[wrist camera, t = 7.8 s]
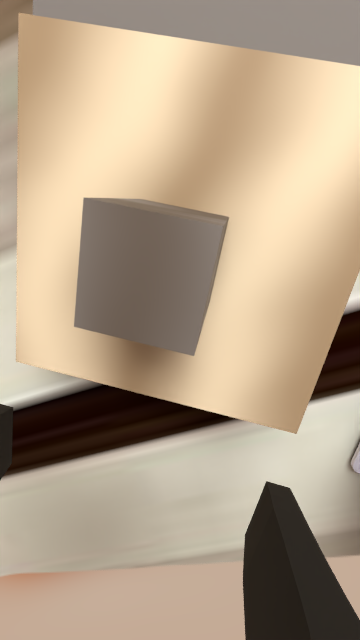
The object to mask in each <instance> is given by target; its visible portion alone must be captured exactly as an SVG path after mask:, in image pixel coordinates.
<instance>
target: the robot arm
mask: <svg viewBox="0 0 360 640" xmlns="http://www.w3.org/2000/svg"><path fill="white" fill-rule="evenodd" d="M12 430H13V407H9V406H6V405H2V404H0V480H1V478H2V477H3V475H4V474H5V472H6V471H7V469H8V468H9V466H10V465H11V463H12ZM351 466H352V468H353V470H354V471H355V472H357V473H359V474H360V443H359V445H358V447H357V450H356V452H355V454H354V456H353V458H352V460H351ZM243 593H244V614H245V634H246V640H360V620H359V618H358V616H357V615H356V613H355V612H354V609H353V608H352V606H351V604H350V602H349V601H348V599H347V597H346V595H345V594H344V592H343V590H342V588H341V586H340V585H339V583H338V581H337V579H336V577H335V575H334V573H333V572H332V570H331V568H330V566H329V565H328V562H327V561H326V559H325V557H324V555H323V553H322V551H321V549H320V547H319V545H318V543H317V541H316V539H315V537H314V535H313V533H312V531H311V530H310V528H309V526H308V524H307V521H306V519H305V517H304V515H303V513H302V511H301V509H300V507H299V505H298V503H297V501H296V499H295V497H294V495H293V493H292V491H291V490H290V488H288V487H284V486H281V485H277V484H274V483H271V482H267V481H266V484H265V486H264V489H263V491H262V494H261V496H260V499H259V501H258V504H257V506H256V509H255V511H254V514H253V516H252V519H251V521H250V524H249V526H248V529H247V532H246V534H245V547H244V568H243Z"/></svg>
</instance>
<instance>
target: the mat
mask: <svg viewBox="0 0 360 640" xmlns="http://www.w3.org/2000/svg"><path fill="white" fill-rule="evenodd" d="M33 15H36V16H42V17H48V18H55V19H61V20H68V21H74V22H80V23H87V24H93V25H100V26H106V27H112V28H119V29H125V30H132V31H138V32H144V33H151V34H157V35H164V36H170V37H176V38H183V39H189V40H196V41H202V42H208V43H215V44H221V45H228V46H234V47H240V48H247V49H253V50H260V51H266V52H272V53H279V54H285V55H292V56H298V57H304V58H311V59H317V60H324V61H330V62H336V63H343V64H349V65H356V66H360V0H33Z"/></svg>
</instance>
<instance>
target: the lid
mask: <svg viewBox="0 0 360 640" xmlns="http://www.w3.org/2000/svg"><path fill="white" fill-rule="evenodd" d="M359 270H360V66H356V65H349V64H343V63H336V62H330V61H324V60H317V59H311V58H304V57H298V56H292V55H285V54H279V53H272V52H266V51H260V50H253V49H247V48H240V47H234V46H228V45H221V44H215V43H208V42H202V41H196V40H189V39H183V38H176V37H170V36H164V35H157V34H151V33H144V32H138V31H132V30H125V29H119V28H112V27H106V26H100V25H93V24H87V23H80V22H74V21H68V20H61V19H55V18H48V17H42V16H36V15H29V14H23V13H19V35H18V173H17V312H16V362H20V363H24V364H28V365H32V366H36V367H39V368H43V369H47V370H51V371H55V372H59V373H63V374H67V375H70V376H74V377H78V378H82V379H86V380H90V381H94V382H98V383H101V384H105V385H109V386H113V387H117V388H121V389H125V390H129V391H132V392H136V393H140V394H144V395H148V396H152V397H156V398H160V399H163V400H167V401H171V402H175V403H179V404H183V405H187V406H191V407H194V408H198V409H202V410H206V411H210V412H214V413H218V414H222V415H225V416H229V417H233V418H237V419H241V420H245V421H249V422H253V423H256V424H260V425H264V426H268V427H272V428H276V429H280V430H284V431H287V432H291V433H295V434H297V431H298V428H299V426H300V423H301V421H302V418H303V416H304V413H305V410H306V408H307V405H308V403H309V400H310V397H311V395H312V392H313V390H314V387H315V384H316V382H317V379H318V377H319V374H320V372H321V369H322V366H323V364H324V361H325V359H326V356H327V353H328V351H329V348H330V346H331V343H332V340H333V338H334V335H335V333H336V330H337V327H338V325H339V322H340V320H341V317H342V315H343V312H344V309H345V307H346V304H347V302H348V299H349V296H350V294H351V291H352V289H353V286H354V283H355V281H356V278H357V276H358V273H359Z"/></svg>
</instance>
